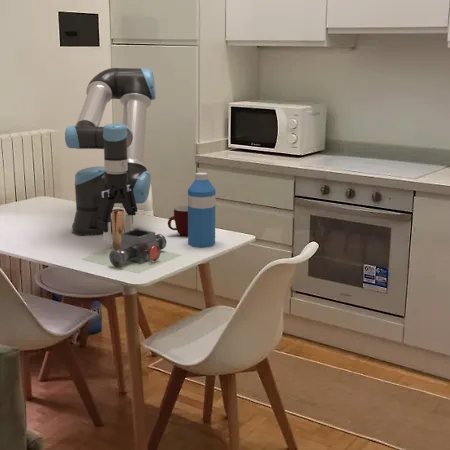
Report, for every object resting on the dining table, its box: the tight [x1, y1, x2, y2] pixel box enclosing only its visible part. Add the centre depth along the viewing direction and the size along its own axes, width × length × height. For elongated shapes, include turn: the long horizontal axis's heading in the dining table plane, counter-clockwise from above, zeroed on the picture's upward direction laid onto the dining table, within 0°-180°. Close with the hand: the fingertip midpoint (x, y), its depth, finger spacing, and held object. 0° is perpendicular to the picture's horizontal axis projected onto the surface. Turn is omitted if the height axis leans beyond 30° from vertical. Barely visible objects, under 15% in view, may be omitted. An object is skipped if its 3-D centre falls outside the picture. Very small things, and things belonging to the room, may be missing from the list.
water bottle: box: [187, 172, 216, 249], centre depth 234 cm, size 9×9×25 cm
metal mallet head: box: [109, 228, 167, 267], centre depth 219 cm, size 11×22×8 cm, turn 147°
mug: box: [167, 205, 188, 238], centre depth 246 cm, size 10×8×10 cm
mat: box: [80, 247, 182, 274], centre depth 222 cm, size 24×22×1 cm
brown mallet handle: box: [111, 208, 125, 250], centre depth 230 cm, size 4×4×13 cm
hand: (118, 237), depth 230 cm, fingers open, 10 cm apart
